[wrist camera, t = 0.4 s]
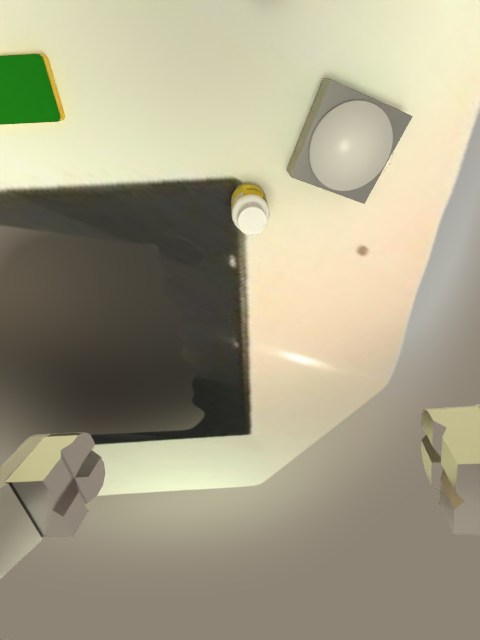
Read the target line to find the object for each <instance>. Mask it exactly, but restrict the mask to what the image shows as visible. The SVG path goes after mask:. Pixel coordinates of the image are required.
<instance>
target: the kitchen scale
mask: <svg viewBox="0 0 480 640" xmlns="http://www.w3.org/2000/svg"><path fill="white" fill-rule="evenodd" d="M411 118H412V116H411V115H409V114H406V113H404V112H402V111H400V110H398V109H395V108H393V107H391V106H389V105H386V104H384V103H382V102H380V101H377V100H375V99H373V98H371V97H369V96H366V95H364V94H362V93H360V92H357V91H355V90H353V89H351V88H348V87H346V86H344V85H342V84H340V83H337V82H335V81H333V80H330V79H325V78H323V80H322V83H321V85H320V88H319V90H318V93H317V95H316V98H315V100H314V103H313V105H312V108H311V110H310V113H309V115H308V118H307V120H306V123H305V125H304V128H303V130H302V133H301V135H300V138H299V140H298V143H297V145H296V148H295V150H294V153H293V155H292V158H291V160H290V163H289V165H288V168H287V171H288V173H289V175H290V176H291V177H293V178H295V179H298V180H301V181H304V182H306V183H309V184H312V185H315V186H317V187H320V188H323V189H325V190H328V191H331V192H334V193H336V194H339V195H342V196H344V197H347V198H350V199H353V200H355V201H358V202H361V203H365V202H366V200H367V198H368V196H369V194H370V193H371V191H372V189H373V187H374V185H375V183H376V182H377V180H378V178H379V176H380V174H381V173H382V172H383V171H385V169H386V168H387V167H388V165H389V164H390V161H391V159H392V156H393V151H394V149H395V147H396V145H397V144H398V142H399V140H400V138H401V136H402V135H403V133H404V131H405V129H406V127H407V125H408V124H409V122H410V120H411Z"/></svg>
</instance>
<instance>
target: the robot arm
mask: <svg viewBox="0 0 480 640" xmlns="http://www.w3.org/2000/svg"><path fill="white" fill-rule="evenodd" d="M422 426H423V428H424V430H425V432H426V436H425V437H424V438H423V439H422V440H421V447H422V457H423V463H424V467H425V470H426V473H427V476H428V478H429V481H430V483H431V485H432V486H433V487H435V488H436V489H437V490H439V491H440V500H439V504H440V506H441V508H442V511H443V513H444V515H445V517H446V519H447V522H448V524H449V526H450V528H451V531H452V533H453V534H462V535H463V534H464V535H480V404H479V405H474V406H462V407H449V408H435V409H424V410H423V412H422ZM94 446H95V443H94V441H93V439H92V437H91V435H90V434H87V433H84V432H81V433H56V434H41V435H34V436H31V437H29V438H28V439H27V440H26V441H25V442H24V443H23V444H22V445H21V446H20V447H19V448H18V449H17V450H16V451H15V452H14V454H12V456H11V457H10V458H9V459H8V460H7V461H6V462H5V463H4V464H3V465H2V466H1V467H0V579H1V578H2V577H3V576H4V575H5V574H6V573H7V572H8V571H9V570H10V569H11V568H12V567H14V565H16V563H18V562H19V561H20V560H21V559H22V558H23V557H24V556H25V555H26V554H27V553H29V551H31V550H32V549H33V548H34V547H35V546H36V545H37V544H38V543H39V542H40V541H41V540H42V537H67V536H74V535H75V533H76V532H77V530H78V528H79V526H80V525H81V523H82V521H83V519H84V518H85V516H86V514H87V512H88V504H87V503H88V502H89V501H91V500H92V499H93V498H94V497H96V496H97V495H98V493H99V491H100V489H101V487H102V486H103V482H104V477H105V468H104V463H103V461H102V458H101V457H100V456H99V455H98V454H96V453H95V452H94V451H93V448H94ZM0 640H1V639H0Z"/></svg>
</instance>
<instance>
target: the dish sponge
mask: <svg viewBox="0 0 480 640" xmlns="http://www.w3.org/2000/svg"><path fill="white" fill-rule="evenodd" d="M64 117H65V115H64V111H63V108H62V105H61V101H60V98H59V94H58V91H57V87H56V84H55V81H54V77H53V74H52V70H51V67H50V64H49V60H48V57H47V56H45V55H44V54H28V55H8V56H0V124H18V123H38V122H58V121H61V120H63V119H64Z"/></svg>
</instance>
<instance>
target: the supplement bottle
mask: <svg viewBox="0 0 480 640" xmlns="http://www.w3.org/2000/svg"><path fill="white" fill-rule="evenodd" d="M231 210H232V219H233V222H234V224H235V225H236V226H237V228H239V229H240V230H241V231H242V232H243V233H245V234H247V235H257V234H259V233H261V232H262V231H263V230H264V229H265V227H266V224H267V222H268V220H269V215H270V211H269V206H268V203H267V200H266V197H265V194H264V192H263V190H262V189H261V188H260V187H259V186H258V185H256V184H254V183H243V184H241V185H239V186H238V187H237V188H236V189H235V190H234V192H233V194H232V197H231Z"/></svg>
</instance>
